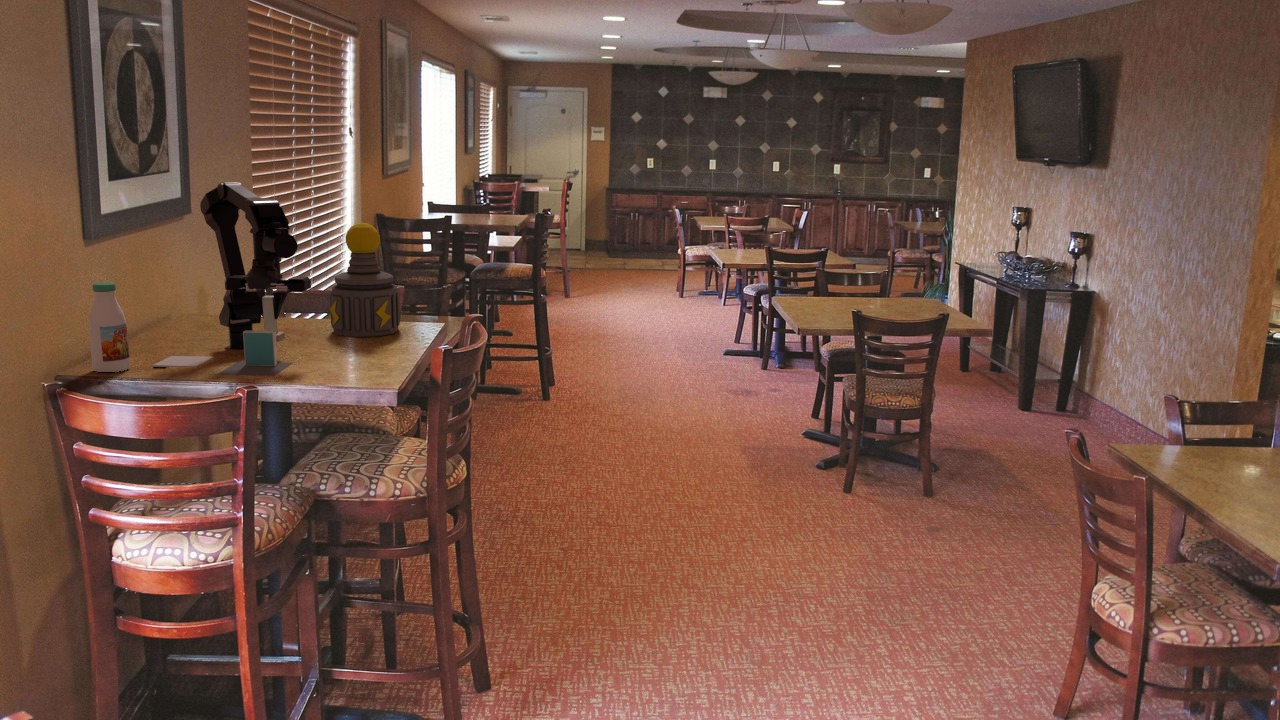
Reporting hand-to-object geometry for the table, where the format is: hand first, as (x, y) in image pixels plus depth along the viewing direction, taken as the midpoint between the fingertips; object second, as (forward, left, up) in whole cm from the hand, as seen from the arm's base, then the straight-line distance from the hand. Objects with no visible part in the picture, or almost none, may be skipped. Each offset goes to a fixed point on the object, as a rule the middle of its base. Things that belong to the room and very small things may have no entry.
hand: (270, 319), depth 248 cm
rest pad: (+6, -19, -10) cm, 22 cm away
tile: (+8, 0, -10) cm, 12 cm away
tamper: (0, 0, -5) cm, 5 cm away
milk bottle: (+14, -32, -10) cm, 36 cm away
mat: (+11, 0, -10) cm, 15 cm away
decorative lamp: (-37, +13, -10) cm, 41 cm away
